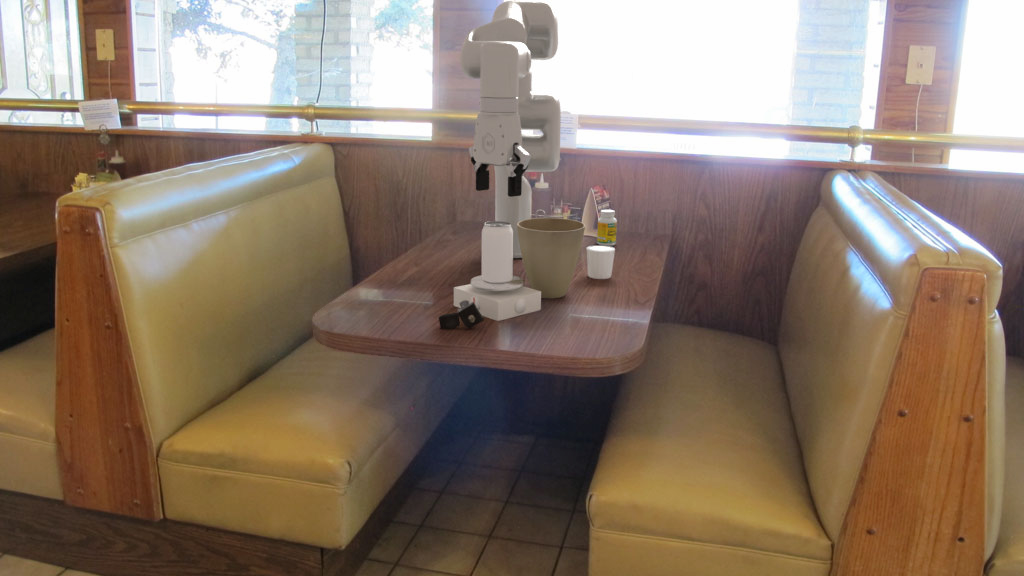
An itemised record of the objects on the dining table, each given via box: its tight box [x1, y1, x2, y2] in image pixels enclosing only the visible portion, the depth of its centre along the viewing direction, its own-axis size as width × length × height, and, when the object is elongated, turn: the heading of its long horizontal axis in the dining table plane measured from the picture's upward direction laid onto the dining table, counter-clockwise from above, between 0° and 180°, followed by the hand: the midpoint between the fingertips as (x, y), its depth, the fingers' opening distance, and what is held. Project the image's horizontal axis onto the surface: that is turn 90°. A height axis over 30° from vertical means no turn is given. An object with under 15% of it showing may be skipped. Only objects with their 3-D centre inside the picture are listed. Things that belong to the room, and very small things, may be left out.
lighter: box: [438, 300, 485, 330], centre depth 163 cm, size 8×2×5 cm
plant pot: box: [517, 217, 586, 299], centre depth 186 cm, size 15×15×16 cm
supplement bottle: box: [596, 209, 618, 247], centre depth 238 cm, size 5×5×10 cm
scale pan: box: [470, 274, 525, 291], centre depth 176 cm, size 11×11×2 cm
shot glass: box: [586, 244, 616, 280], centre depth 203 cm, size 7×7×7 cm
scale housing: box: [453, 283, 542, 322], centre depth 176 cm, size 14×12×4 cm
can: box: [481, 220, 514, 284], centre depth 174 cm, size 6×6×12 cm
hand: (498, 193), depth 171 cm, fingers open, 9 cm apart
